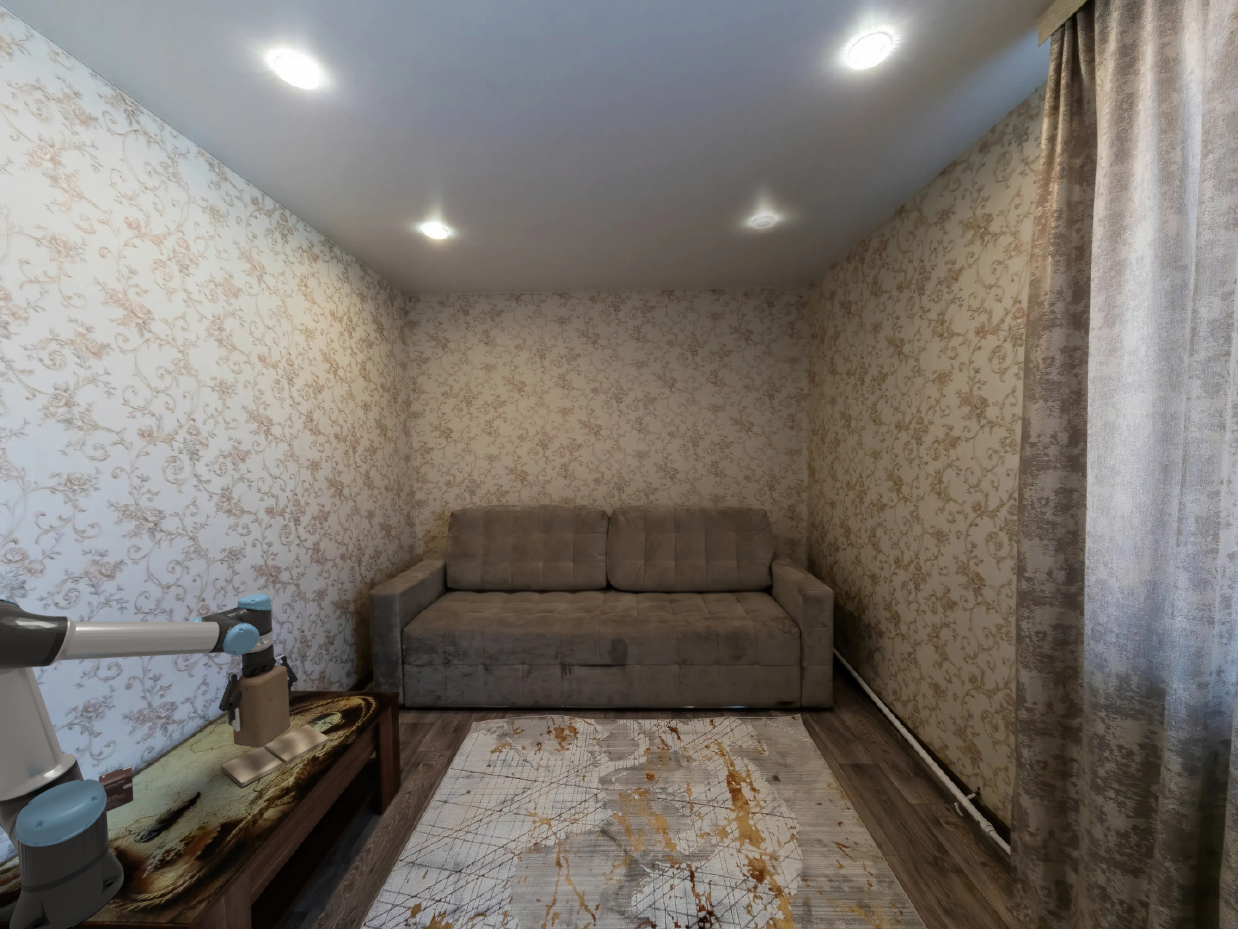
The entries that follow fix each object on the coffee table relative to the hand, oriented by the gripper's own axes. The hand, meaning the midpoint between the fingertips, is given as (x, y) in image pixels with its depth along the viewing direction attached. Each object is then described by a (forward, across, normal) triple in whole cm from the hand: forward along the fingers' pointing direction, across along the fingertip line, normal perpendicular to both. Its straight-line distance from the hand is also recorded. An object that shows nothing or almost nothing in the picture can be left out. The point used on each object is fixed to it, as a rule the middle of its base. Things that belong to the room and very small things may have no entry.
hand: (262, 718), depth 136 cm
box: (+14, -27, +17) cm, 35 cm away
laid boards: (+14, +9, 0) cm, 16 cm away
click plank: (+13, -3, 0) cm, 14 cm away
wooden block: (+6, 0, 0) cm, 6 cm away
